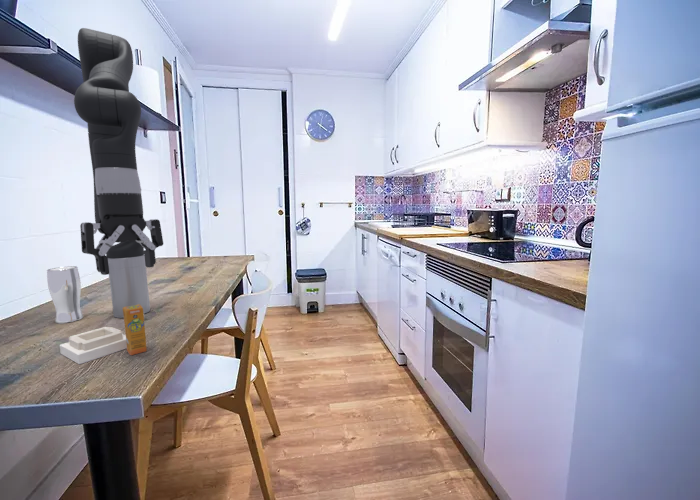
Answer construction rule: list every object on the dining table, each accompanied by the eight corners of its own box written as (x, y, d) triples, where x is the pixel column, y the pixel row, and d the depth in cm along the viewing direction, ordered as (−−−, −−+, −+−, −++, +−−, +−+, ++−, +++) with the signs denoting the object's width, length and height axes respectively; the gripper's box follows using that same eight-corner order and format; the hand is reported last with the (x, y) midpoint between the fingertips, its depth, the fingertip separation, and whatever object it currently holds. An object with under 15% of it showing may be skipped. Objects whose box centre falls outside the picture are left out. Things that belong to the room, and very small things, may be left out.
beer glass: (91, 317, 96) (84, 266, 95) (64, 325, 90) (56, 271, 88) (75, 315, 99) (68, 265, 97) (47, 322, 92) (39, 270, 90)
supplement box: (129, 356, 69) (124, 310, 68) (127, 351, 72) (121, 306, 70) (148, 351, 71) (143, 306, 70) (144, 346, 74) (139, 303, 73)
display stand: (60, 353, 72) (58, 338, 71) (113, 337, 80) (111, 323, 79) (79, 364, 66) (77, 347, 66) (133, 346, 75) (131, 331, 74)
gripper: (146, 193, 75) (154, 264, 77) (68, 192, 63) (79, 275, 65) (164, 192, 71) (171, 266, 73) (84, 190, 59) (96, 278, 61)
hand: (128, 270), depth 69 cm, fingers open, 8 cm apart
